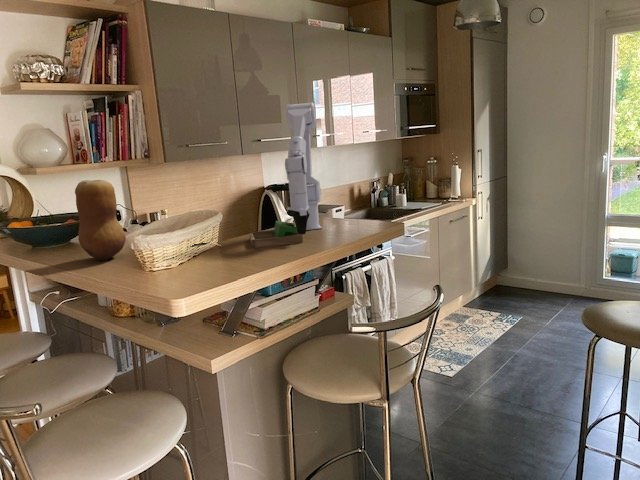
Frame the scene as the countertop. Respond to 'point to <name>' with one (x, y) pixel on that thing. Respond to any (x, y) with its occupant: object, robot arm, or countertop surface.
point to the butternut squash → (98, 219)
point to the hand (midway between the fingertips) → (301, 233)
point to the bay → (272, 239)
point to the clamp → (284, 229)
